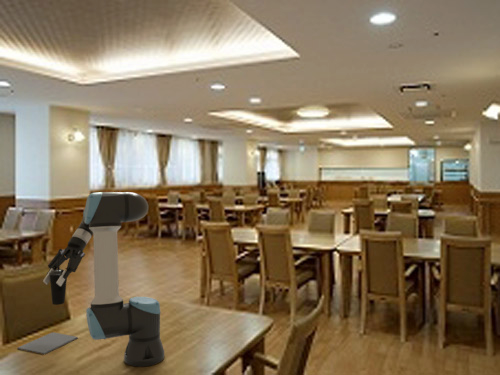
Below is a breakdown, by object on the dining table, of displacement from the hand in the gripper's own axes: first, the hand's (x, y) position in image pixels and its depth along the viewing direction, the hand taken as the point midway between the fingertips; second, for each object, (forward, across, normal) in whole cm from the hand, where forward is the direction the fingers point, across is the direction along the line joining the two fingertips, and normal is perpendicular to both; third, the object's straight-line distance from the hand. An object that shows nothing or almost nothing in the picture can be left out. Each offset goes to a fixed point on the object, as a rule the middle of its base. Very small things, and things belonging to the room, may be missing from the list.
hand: (51, 283), depth 186 cm
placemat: (+21, -4, -13) cm, 24 cm away
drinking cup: (+4, 0, -9) cm, 10 cm away
